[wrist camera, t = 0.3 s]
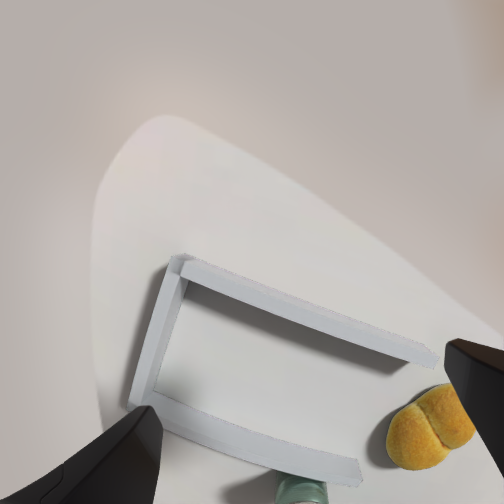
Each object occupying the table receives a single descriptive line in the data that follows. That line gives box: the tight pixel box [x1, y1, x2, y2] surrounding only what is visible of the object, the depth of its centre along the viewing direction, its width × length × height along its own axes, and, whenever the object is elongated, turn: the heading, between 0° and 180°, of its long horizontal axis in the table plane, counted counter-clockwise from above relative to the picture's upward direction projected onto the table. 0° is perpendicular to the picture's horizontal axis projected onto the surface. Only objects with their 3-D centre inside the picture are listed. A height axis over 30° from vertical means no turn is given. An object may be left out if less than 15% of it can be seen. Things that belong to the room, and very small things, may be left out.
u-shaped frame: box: [126, 253, 439, 487], centre depth 22 cm, size 13×20×3 cm, turn 69°
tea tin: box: [275, 470, 329, 504], centre depth 21 cm, size 5×5×6 cm
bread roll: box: [386, 383, 476, 471], centre depth 21 cm, size 8×9×4 cm
